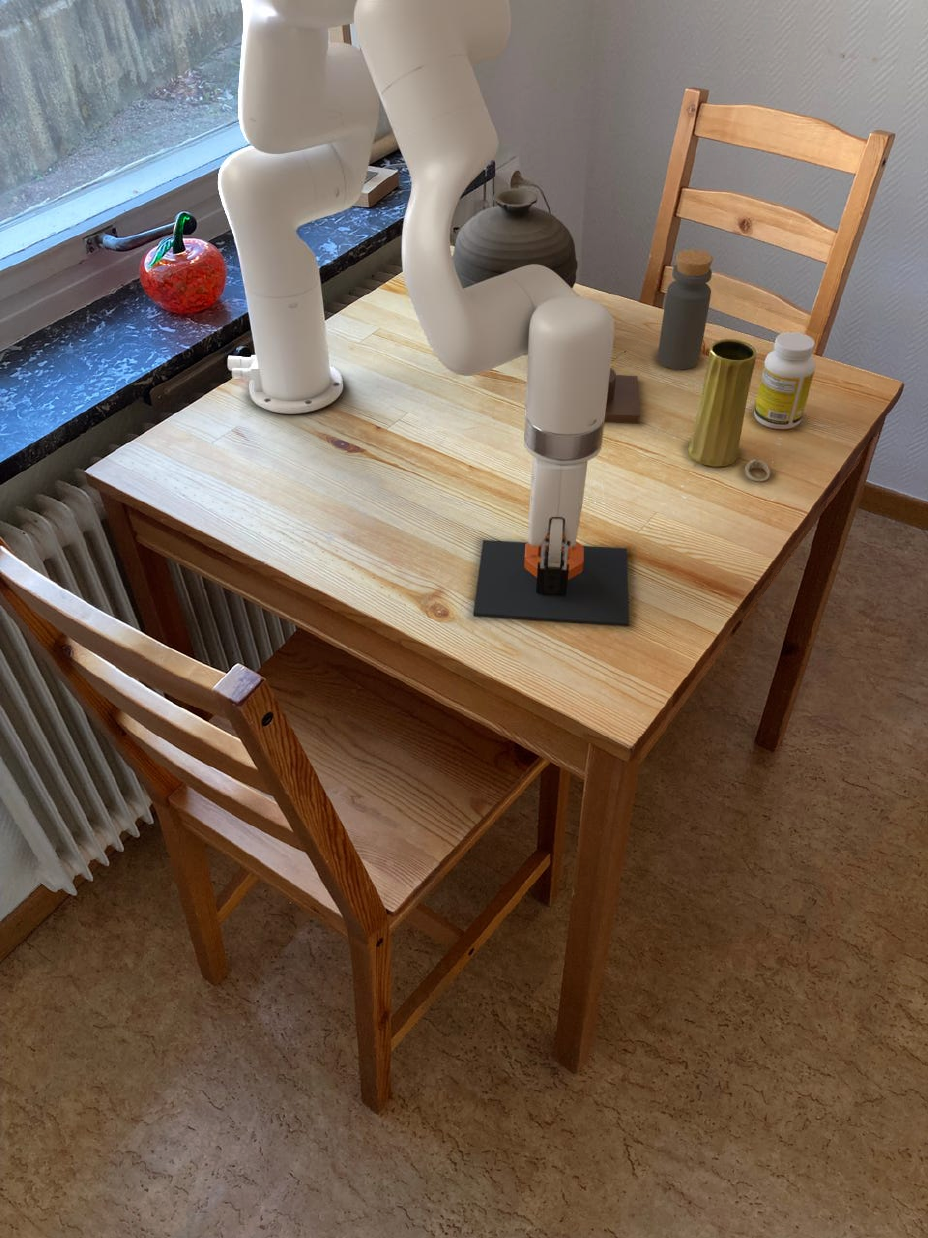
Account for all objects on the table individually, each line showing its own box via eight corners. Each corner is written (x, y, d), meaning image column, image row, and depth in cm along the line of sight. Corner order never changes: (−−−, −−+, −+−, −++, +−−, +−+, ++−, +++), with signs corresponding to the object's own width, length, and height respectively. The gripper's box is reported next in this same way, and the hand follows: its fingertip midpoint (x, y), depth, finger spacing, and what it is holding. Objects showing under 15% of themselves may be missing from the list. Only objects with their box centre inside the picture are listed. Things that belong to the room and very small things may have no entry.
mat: (473, 616, 103) (473, 613, 103) (483, 542, 112) (483, 539, 112) (628, 626, 102) (628, 623, 102) (626, 551, 111) (626, 548, 110)
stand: (545, 418, 130) (549, 363, 124) (548, 379, 137) (552, 325, 132) (638, 423, 129) (645, 368, 124) (636, 383, 136) (643, 329, 131)
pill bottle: (786, 402, 133) (805, 325, 125) (810, 426, 128) (831, 348, 121) (744, 409, 131) (760, 332, 124) (766, 434, 127) (785, 356, 120)
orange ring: (523, 579, 104) (523, 569, 103) (526, 541, 109) (526, 531, 108) (582, 583, 104) (583, 573, 103) (583, 545, 108) (584, 535, 107)
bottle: (703, 354, 142) (722, 251, 131) (692, 373, 138) (710, 269, 128) (664, 345, 144) (679, 243, 133) (651, 364, 140) (666, 261, 129)
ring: (748, 486, 120) (739, 468, 122) (772, 483, 121) (762, 465, 122) (752, 478, 119) (743, 460, 121) (775, 475, 119) (766, 456, 121)
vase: (737, 470, 122) (760, 365, 112) (686, 464, 122) (705, 360, 113) (737, 442, 126) (760, 339, 116) (688, 437, 127) (707, 334, 117)
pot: (563, 363, 139) (561, 218, 126) (442, 356, 144) (427, 215, 130) (588, 308, 152) (588, 171, 138) (476, 303, 156) (465, 170, 143)
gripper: (529, 380, 101) (522, 519, 114) (518, 481, 89) (512, 625, 101) (603, 384, 101) (588, 523, 113) (603, 486, 88) (586, 630, 101)
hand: (552, 570), depth 107 cm, fingers closed on orange ring, 6 cm apart
